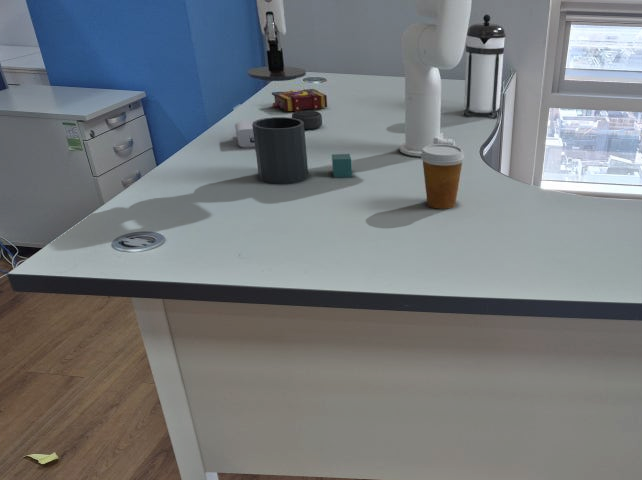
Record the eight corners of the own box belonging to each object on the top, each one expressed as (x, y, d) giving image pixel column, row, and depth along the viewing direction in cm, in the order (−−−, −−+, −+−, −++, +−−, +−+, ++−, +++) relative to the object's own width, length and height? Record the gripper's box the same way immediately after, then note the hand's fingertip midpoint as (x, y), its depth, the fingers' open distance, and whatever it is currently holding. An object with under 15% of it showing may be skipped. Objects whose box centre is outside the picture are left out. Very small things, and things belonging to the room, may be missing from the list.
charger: (268, 132, 192) (273, 145, 180) (235, 134, 189) (239, 147, 177) (266, 115, 189) (271, 128, 178) (233, 117, 187) (236, 129, 175)
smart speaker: (325, 124, 202) (324, 110, 200) (318, 131, 195) (317, 117, 193) (297, 122, 203) (296, 109, 201) (289, 129, 196) (287, 115, 193)
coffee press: (514, 116, 221) (523, 16, 204) (476, 120, 213) (482, 17, 196) (484, 105, 232) (489, 10, 216) (447, 110, 225) (449, 11, 208)
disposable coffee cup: (431, 214, 140) (432, 157, 134) (413, 200, 147) (413, 145, 140) (470, 208, 144) (473, 153, 137) (450, 194, 151) (452, 142, 144)
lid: (305, 71, 150) (303, 42, 147) (306, 82, 140) (304, 50, 137) (249, 72, 148) (245, 42, 145) (246, 83, 138) (241, 50, 134)
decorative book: (328, 108, 220) (327, 93, 217) (282, 113, 212) (281, 97, 210) (314, 102, 228) (313, 87, 225) (269, 106, 220) (268, 90, 217)
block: (350, 171, 163) (349, 153, 161) (352, 176, 160) (351, 158, 157) (332, 172, 162) (331, 154, 160) (333, 177, 159) (332, 159, 156)
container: (307, 168, 164) (303, 116, 157) (309, 183, 154) (304, 128, 148) (259, 170, 162) (253, 117, 155) (258, 184, 152) (251, 129, 145)
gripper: (284, -25, 127) (294, 76, 137) (285, -30, 141) (293, 63, 151) (244, -26, 126) (257, 76, 136) (249, -30, 139) (260, 63, 149)
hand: (276, 68), depth 143 cm, fingers closed on lid, 2 cm apart
